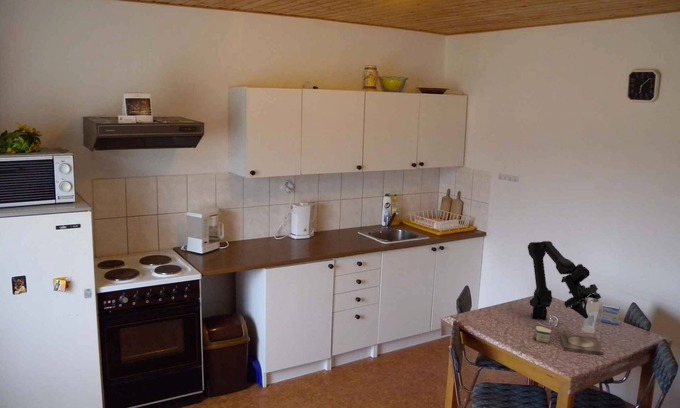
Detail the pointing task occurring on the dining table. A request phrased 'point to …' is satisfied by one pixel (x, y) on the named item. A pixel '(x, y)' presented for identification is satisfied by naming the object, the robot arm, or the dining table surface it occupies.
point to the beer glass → (590, 314)
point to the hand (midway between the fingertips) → (592, 317)
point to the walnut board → (581, 344)
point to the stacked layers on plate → (543, 334)
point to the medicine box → (610, 314)
